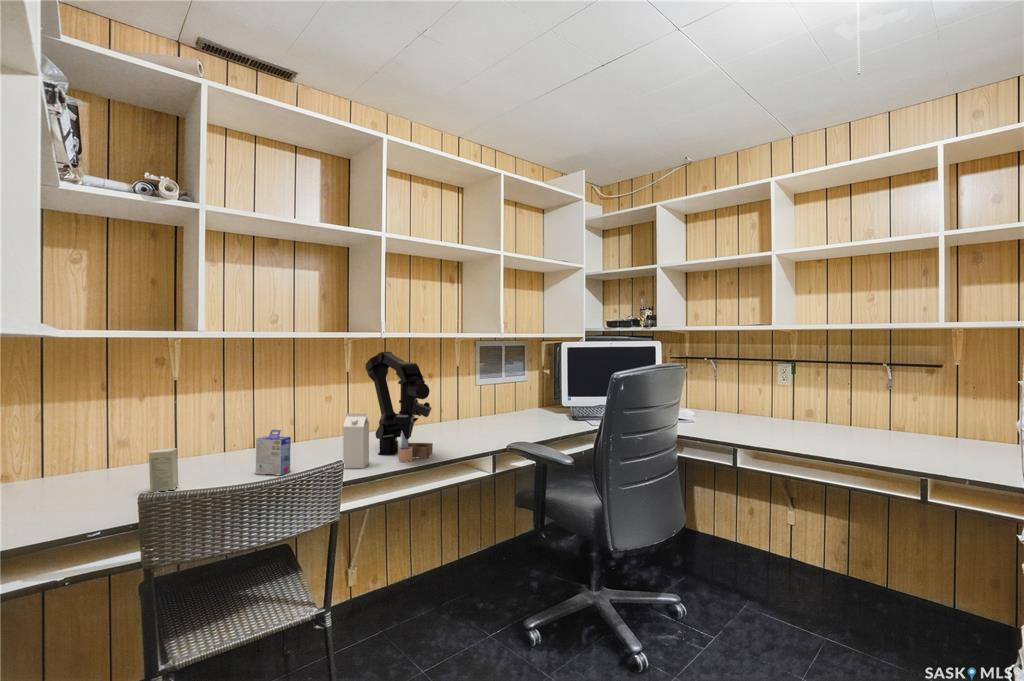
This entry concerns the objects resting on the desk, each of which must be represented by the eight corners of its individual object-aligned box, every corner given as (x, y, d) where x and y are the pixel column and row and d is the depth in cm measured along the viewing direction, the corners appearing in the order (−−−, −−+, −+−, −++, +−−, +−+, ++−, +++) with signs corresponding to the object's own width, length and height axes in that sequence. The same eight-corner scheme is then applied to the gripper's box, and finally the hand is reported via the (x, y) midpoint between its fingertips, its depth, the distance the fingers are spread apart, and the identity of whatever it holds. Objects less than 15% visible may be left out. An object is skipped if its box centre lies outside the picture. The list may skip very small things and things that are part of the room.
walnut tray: (402, 457, 191) (402, 447, 191) (407, 452, 199) (407, 442, 199) (428, 458, 191) (428, 447, 191) (432, 453, 199) (432, 443, 199)
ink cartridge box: (291, 471, 171) (291, 429, 171) (281, 476, 166) (281, 432, 166) (265, 470, 173) (265, 428, 173) (254, 474, 168) (254, 431, 168)
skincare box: (178, 487, 154) (178, 447, 153) (173, 491, 149) (173, 450, 149) (154, 488, 152) (154, 448, 152) (148, 493, 148) (148, 452, 147)
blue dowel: (400, 453, 186) (397, 431, 186) (402, 451, 189) (399, 430, 189) (410, 452, 186) (407, 430, 186) (411, 450, 188) (408, 428, 188)
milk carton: (349, 463, 182) (349, 411, 182) (368, 463, 182) (369, 411, 182) (343, 468, 175) (343, 415, 175) (363, 469, 175) (363, 415, 175)
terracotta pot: (396, 462, 185) (396, 449, 185) (400, 458, 190) (400, 446, 190) (410, 462, 185) (410, 449, 185) (413, 458, 190) (413, 446, 190)
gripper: (424, 400, 177) (424, 443, 178) (434, 394, 196) (434, 433, 196) (393, 399, 178) (393, 443, 178) (406, 393, 196) (406, 433, 197)
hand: (408, 438), depth 187 cm, fingers closed on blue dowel, 2 cm apart
